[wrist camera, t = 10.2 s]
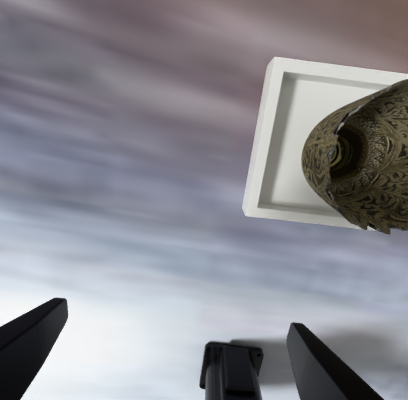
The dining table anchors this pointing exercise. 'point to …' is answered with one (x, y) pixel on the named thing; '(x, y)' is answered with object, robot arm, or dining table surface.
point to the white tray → (300, 135)
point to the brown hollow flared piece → (363, 159)
